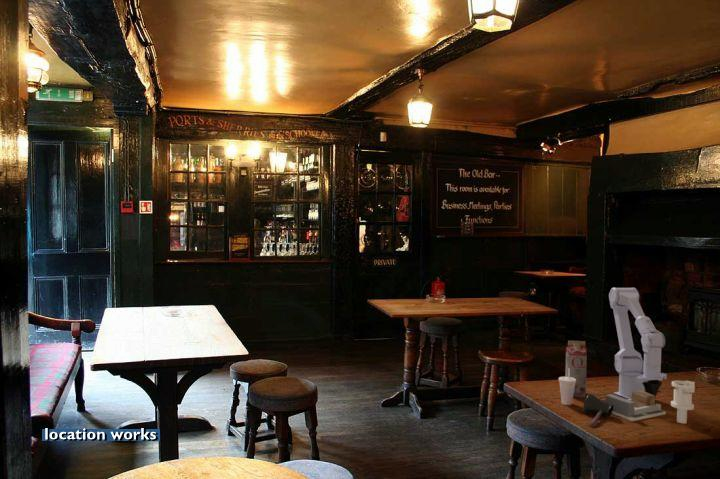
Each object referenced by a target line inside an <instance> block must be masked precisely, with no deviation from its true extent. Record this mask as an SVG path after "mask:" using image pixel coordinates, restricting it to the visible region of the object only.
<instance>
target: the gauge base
mask: <svg viewBox="0 0 720 479" xmlns="http://www.w3.org/2000/svg"><path fill="white" fill-rule="evenodd" d="M604 402H605V403H606V404H608V405H613V412H612V415H615V416H618V417H619V418H622V419H625V420H628V421H630V422H635V421H640V420H641V421H642V420H645V419H649V418H655V417H660V416H664V415H666V414H667V411H665V410H662V403H661V404H660V403H655V404H656V405H659V406H658V407H657V406H654V405H649V406H644V407H639V408H637V407H635V402H633V401H631V399H628V398H625V397H622V396H619V395H616V394H614V393H613V394H612V393H610V394H609V393H608V394H605V401H604Z"/></svg>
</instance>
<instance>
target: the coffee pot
mask: <svg viewBox="0 0 720 479" xmlns="http://www.w3.org/2000/svg"><path fill="white" fill-rule="evenodd" d="M612 412H613V405H608V404H606V403H605V401H604V400H602V399H601V398H600V397H598V396H597V395H595V394H594V393H592V392H590V393H588V394H587V395H586V397H585V400H584V403H583V413H584V414H590V415H595V417H593V419H592V420H588V421H587V422H586V424H587V426H589V427H590V428H594V427H596V426H597V424H598V423H599V420H600V417H601V416H604V417H606V418H607V419H609V418H611V417H612V415H613V414H612ZM589 422H590V423H589ZM588 423H589V424H588Z"/></svg>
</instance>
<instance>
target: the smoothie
mask: <svg viewBox="0 0 720 479" xmlns="http://www.w3.org/2000/svg"><path fill="white" fill-rule="evenodd" d="M558 382H559V391H560V399H561V400H560V402H561V404H562V405H565V406H571V405H572V404H573V400H574V399H573V398H574V397H573V393H574V387H575V383H576V379H574V378H571V377H570V368H568V377H565V376H559V377H558Z"/></svg>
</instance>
